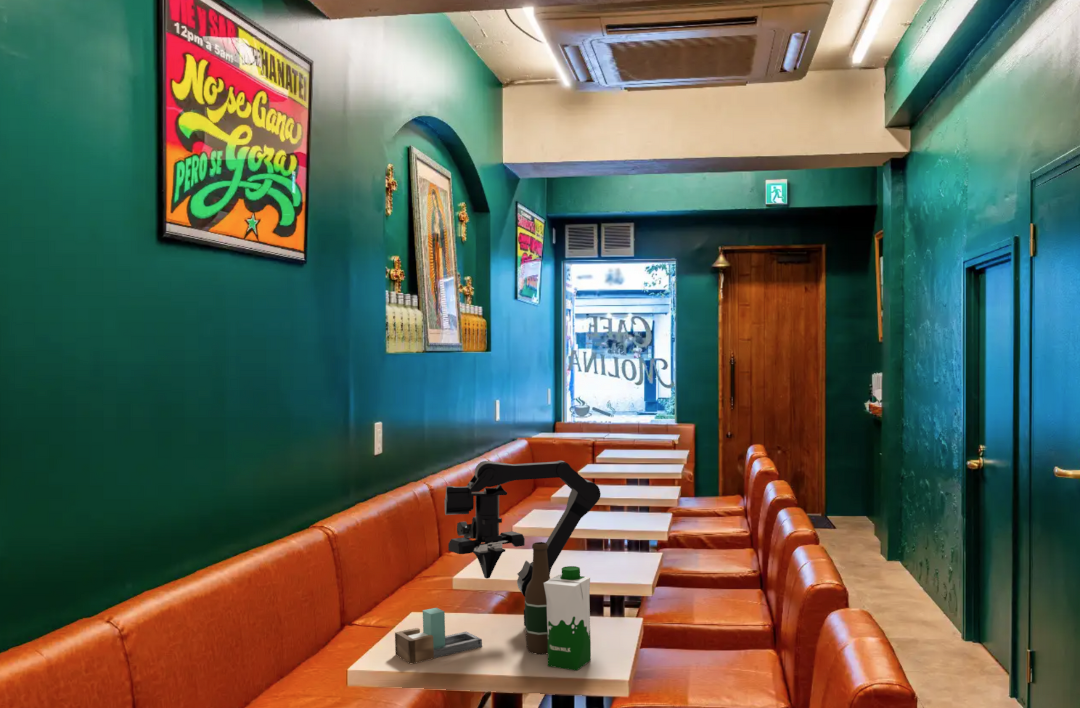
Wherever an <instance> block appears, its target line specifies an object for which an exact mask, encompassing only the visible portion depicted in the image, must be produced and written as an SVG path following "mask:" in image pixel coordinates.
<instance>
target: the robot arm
mask: <svg viewBox="0 0 1080 708" xmlns="http://www.w3.org/2000/svg"><path fill="white" fill-rule="evenodd" d="M555 478H558V479H560V480H561V481H562V482H563V483H565V485H566V486H567V487H568V488H569V489H570V493H569V495H568V499H567V502H566V506H565V507H566V508H565V510H564V512H563V513H562V515H561V516H560V518H559V520H558V522H557V523H556V525H555V526H554V529H553V530H552V532H551V533H550V535H549V537H548V538H547V540H546V541H545V543H547V545H548V549H547V556H548V567H549V575H551V570H552V568H553V566H554V565H555V563H556V561H557V560H558V558H559V556H560V555H561V553H562V551H563V549H564V548H565V546H566V544H567V542H568V541H569V539H570V538H571V536H572V534H573V532H574V531H575V529H576V527H577V526H578V524H579V523H580V520H581V519H582V518H584V516H585V515H587V514H588V513H589V512H590V511H591V510H592V509H593V508H594V507H595V505H596V504H597V503H598V502H599V500H600V499H601V489H600V488H599V486H598V485H597V484H596V483H594V482H592V481H591V480H588V479H586V478H584V477H583V476H581V475H580V474H579V473H578V472H577V471H576V470H574V468H573V467H572V466H571V465H570V464H569V463H568V462H566V461H564V460H557V461H547V462H543V461H542V462H527V463H513V464H512V463H506V462H501V461H500V462H499V461H493V460H483V461H480V462H478V464H477V465H476V467H475V468H474V475H473V476H472V478H471V479H470V480H469V481H468V483H467V484H466V486H452V485H446V486H445V498H444V514H445V516H448V515H449V516H451V515H469V514H470V512H472V511H473V510H474V507H475V516H472V519H471V523H469V524H468V523H467V521H459V522H457V524H456V533H457V535H458V537H456V538H450V540H449V542H448V546H447V547H448V551H449V552H452V553H455V554H457V555H467V554H472V553H473V554H474V555H475V557H476V558H477V561H478V563H479V566H480V568H481V571H482V573H483V577H484V578H485V579H488V580H489V579H490V578H491V577H492V574H493V571H494V569H495V568H496V565H497V563H498V562H499V560H500V558H501V556H502V555H503V553H505V552H506V549H505V548H503V545H508V544H511V545H512V546H513V547H516V548H517V547H525V545H526V543H525V542H526V537H525V536H524V534H523V533H519V532H516V531H512V530H511V531H505V532H504V531H503V532H501V533H500V524H502V522H503V519H502V518H501V517H500V496H507V495H508V492H507V491H506V490H505V489H504V488H503V486H502V485H504V484H506V483H507V484H508V483H509V482H513V481H525V480H541V479H555ZM495 486H496V487H495ZM482 490H483V491H482ZM474 497H475V499H474ZM474 500H475V501H474ZM474 504H475V506H474ZM461 536H463V537H461ZM532 572H533V561H531V562H529V561H528V560H525V561H524V564H523V565H522V568H521V569H520V571H519V572H518V573H516V575H517V576H518V577H517V580H516V581H517V587H518V589H519V591H520V592H521V594H522V596H523V597H524V598H525V591H526V588H527V585H528V584H529V582H530V580H531V579H532ZM523 626H524V627H525V628H524V631H525V632H526V626H525V608H524V609H523Z"/></svg>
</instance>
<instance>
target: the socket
mask: <svg viewBox="0 0 1080 708" xmlns="http://www.w3.org/2000/svg"><path fill="white" fill-rule="evenodd" d="M418 633H421V629H420V628H419V627H415V628H410V629H405V630H400V631H394V645H395V655H396V656H397V655H398V656H399V658H400V657H401V658H400V659H402V660H403V659H404V661H405V662H407V663H408V662H409V663H408V664H410V663H413V664H417V663H421V661H422V662H426V661H429V660H433V659H435V658H434V650H433V636H432V635H427V636H423V637H418V638H413V639H412V638H411V637H409V635H413V634H418ZM398 656H397V657H398ZM416 662H417V663H416Z"/></svg>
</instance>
